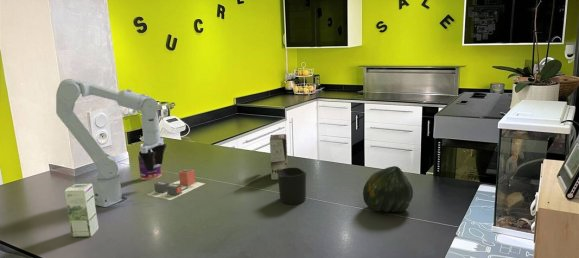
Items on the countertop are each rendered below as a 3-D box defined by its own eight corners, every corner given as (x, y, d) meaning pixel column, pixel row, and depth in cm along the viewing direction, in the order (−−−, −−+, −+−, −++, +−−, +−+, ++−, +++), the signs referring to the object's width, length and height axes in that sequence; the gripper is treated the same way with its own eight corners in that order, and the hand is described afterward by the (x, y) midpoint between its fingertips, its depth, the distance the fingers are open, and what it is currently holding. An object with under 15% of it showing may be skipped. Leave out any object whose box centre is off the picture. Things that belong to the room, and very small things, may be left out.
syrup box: (99, 228, 129) (92, 182, 126) (91, 237, 123) (84, 189, 120) (80, 229, 129) (73, 183, 126) (71, 238, 123) (63, 190, 120)
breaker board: (170, 203, 147) (170, 199, 146) (146, 197, 153) (145, 194, 152) (205, 186, 162) (205, 183, 162) (181, 182, 168) (181, 179, 168)
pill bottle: (149, 183, 168) (145, 148, 164) (136, 179, 172) (132, 145, 168) (165, 177, 174) (162, 143, 170) (153, 173, 179) (149, 140, 175)
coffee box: (287, 179, 167) (286, 139, 163) (271, 180, 167) (269, 139, 163) (288, 172, 176) (286, 133, 172) (272, 172, 176) (270, 134, 172)
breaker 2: (177, 196, 150) (176, 187, 149) (167, 194, 152) (166, 185, 151) (183, 193, 152) (182, 185, 152) (173, 191, 154) (172, 183, 154)
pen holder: (309, 195, 149) (308, 168, 147) (303, 206, 140) (302, 177, 138) (283, 194, 152) (282, 166, 150) (275, 204, 143) (274, 175, 141)
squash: (351, 186, 141) (368, 161, 130) (390, 181, 147) (410, 156, 135) (367, 225, 134) (387, 202, 122) (407, 218, 139) (430, 196, 127)
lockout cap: (188, 186, 159) (186, 172, 158) (180, 184, 161) (178, 171, 160) (195, 182, 163) (194, 169, 162) (187, 181, 165) (186, 168, 164)
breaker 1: (163, 193, 153) (162, 185, 152) (155, 191, 155) (154, 183, 154) (169, 190, 155) (168, 182, 155) (161, 188, 157) (160, 180, 157)
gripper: (153, 135, 146) (156, 173, 149) (169, 126, 160) (172, 161, 163) (133, 135, 147) (137, 173, 149) (151, 126, 161) (155, 161, 163)
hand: (154, 167), depth 156 cm, fingers open, 7 cm apart
